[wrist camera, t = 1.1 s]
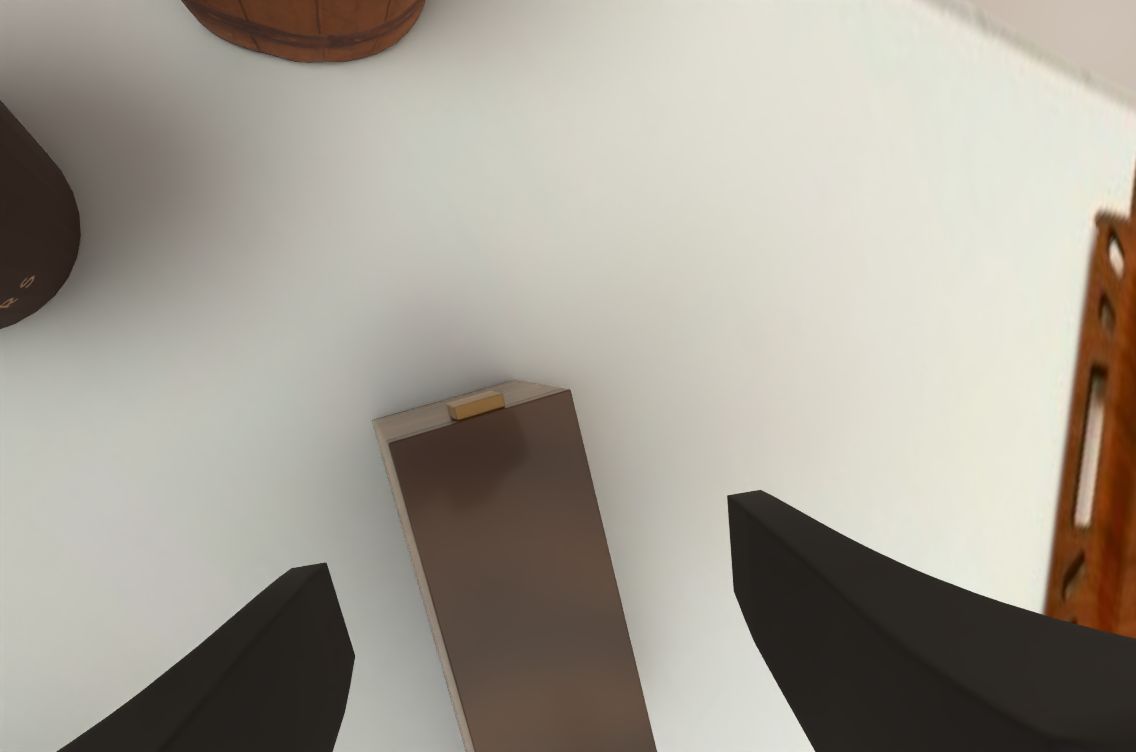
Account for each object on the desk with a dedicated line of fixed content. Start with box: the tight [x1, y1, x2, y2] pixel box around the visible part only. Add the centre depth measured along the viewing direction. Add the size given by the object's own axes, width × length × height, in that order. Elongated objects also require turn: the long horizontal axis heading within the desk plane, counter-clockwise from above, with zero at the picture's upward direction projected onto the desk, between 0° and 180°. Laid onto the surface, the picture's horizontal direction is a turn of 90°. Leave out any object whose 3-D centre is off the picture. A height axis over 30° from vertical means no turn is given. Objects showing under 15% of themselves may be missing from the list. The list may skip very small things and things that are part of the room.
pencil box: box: [373, 380, 657, 752], centre depth 21 cm, size 14×5×6 cm, turn 16°
